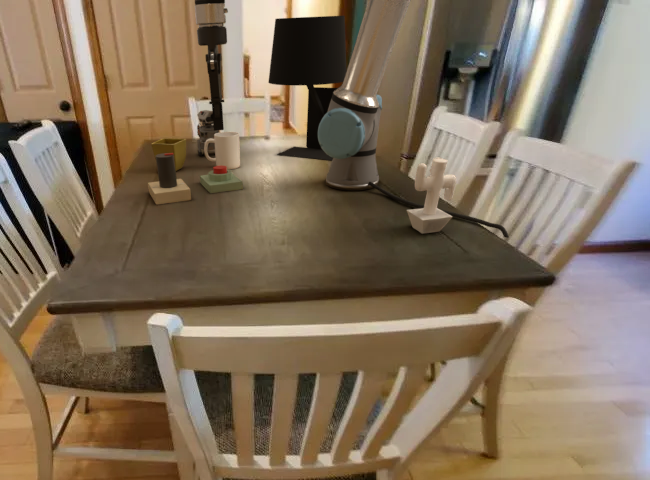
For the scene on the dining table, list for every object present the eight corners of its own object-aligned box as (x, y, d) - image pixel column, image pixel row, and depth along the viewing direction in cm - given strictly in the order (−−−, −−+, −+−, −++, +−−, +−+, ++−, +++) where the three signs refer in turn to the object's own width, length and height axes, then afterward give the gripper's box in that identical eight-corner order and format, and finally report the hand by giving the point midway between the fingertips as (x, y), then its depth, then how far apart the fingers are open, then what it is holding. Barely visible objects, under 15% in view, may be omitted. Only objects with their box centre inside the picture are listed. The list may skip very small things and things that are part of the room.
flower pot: (154, 172, 157) (150, 143, 151) (167, 165, 163) (163, 137, 158) (177, 173, 154) (173, 144, 149) (189, 167, 160) (186, 138, 155)
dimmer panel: (191, 200, 130) (190, 188, 128) (156, 204, 128) (154, 192, 126) (182, 189, 139) (181, 178, 138) (149, 193, 137) (147, 182, 135)
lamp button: (228, 174, 137) (228, 167, 136) (215, 175, 136) (215, 169, 135) (224, 171, 140) (224, 164, 139) (212, 172, 139) (211, 166, 138)
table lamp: (354, 151, 171) (367, 14, 147) (321, 169, 152) (331, 15, 128) (292, 146, 182) (295, 18, 158) (255, 161, 164) (252, 19, 139)
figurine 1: (201, 160, 169) (197, 113, 160) (197, 153, 178) (193, 108, 169) (225, 158, 170) (223, 111, 161) (220, 151, 179) (218, 107, 170)
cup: (239, 169, 156) (238, 136, 150) (204, 170, 157) (201, 137, 150) (241, 163, 162) (239, 131, 156) (207, 164, 163) (204, 132, 157)
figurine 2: (453, 232, 104) (470, 160, 95) (415, 237, 103) (429, 164, 94) (435, 221, 110) (450, 153, 101) (399, 226, 108) (411, 157, 99)
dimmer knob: (161, 188, 129) (156, 156, 124) (158, 184, 133) (153, 153, 128) (178, 186, 131) (175, 154, 126) (175, 182, 134) (171, 151, 129)
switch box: (242, 189, 137) (242, 174, 135) (210, 193, 135) (209, 178, 132) (231, 179, 146) (230, 165, 144) (200, 183, 144) (199, 169, 142)
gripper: (224, 25, 112) (230, 133, 126) (227, 25, 122) (233, 125, 136) (193, 26, 112) (203, 134, 126) (199, 26, 123) (207, 126, 137)
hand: (218, 129), depth 131 cm, fingers closed
